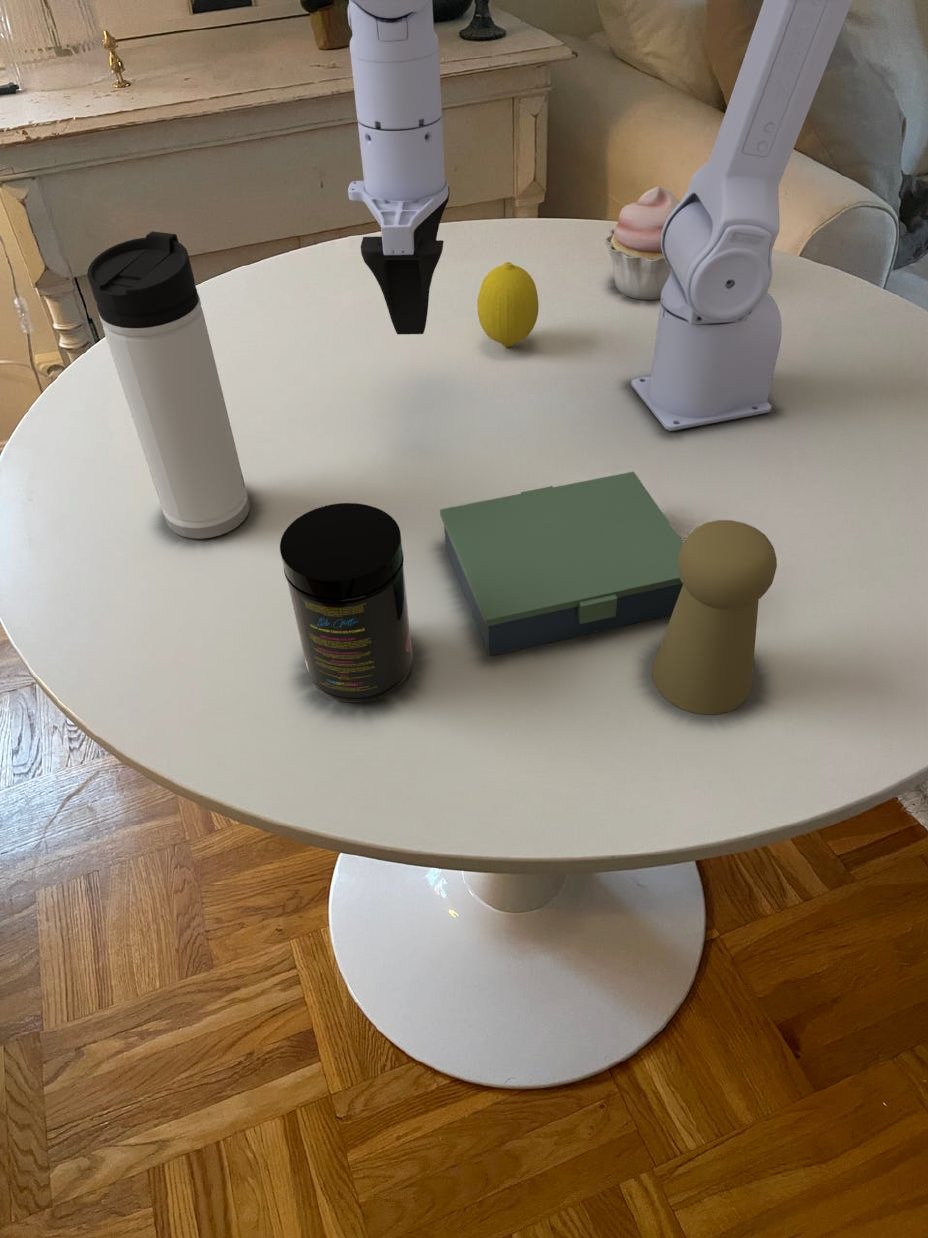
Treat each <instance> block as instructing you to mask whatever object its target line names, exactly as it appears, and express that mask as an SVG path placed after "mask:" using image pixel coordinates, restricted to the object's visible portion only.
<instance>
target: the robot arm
mask: <svg viewBox="0 0 928 1238" xmlns="http://www.w3.org/2000/svg"><path fill="white" fill-rule="evenodd" d="M852 2H853V0H763V2H762V5H761V8H760V10H759V14H758V15H757V16H758V17H757V19H756V22H755V26H754V28H753V31H752V34H751V38H750V39H749V43H748V46H747V49H746V52H745V54H744V57H743V60H742V64H741V66H740V69H739V72H738V75H737V78H736V81H735V83H734V87H733V89H732V93H731V96H730V99H729V101H728V104H727V107H726V110H725V112H724V116H723V118H722V121H721V125H720V127H719V131H718V133H717V137H716V139H715V143H714V145H713V148H712V151H711V154H710V157H709V159H708V160H707V161H706V162H705V163H704V164H703V165H702V166H701V167H699V168H698V169H697V170H696V171H695V172H694V173H693V174H692V176H691V179H690V180H689V181H690V182H689V185H688V187H687V190H686V192H685V193H684V196H683V198H682V199H681V200H680V201H679V202H680V203H679V204H678V205H677V206H676V207H675V208H674V210H673V211H672V212H671V213H670V215H669V216H668V218H667V219H666V221H665V223H664V226H663V229H662V233H661V249H662V252H663V255H664V257H665V259H666V260H667V262H668V263H669V264H670V266H671V272H670V275H669V278H668V280H667V282H666V283H665V285H664V287H663V289H662V292H661V298H660V301H659V310H658V318H657V326H656V327H657V328H656V333H655V334H656V335H655V342H654V350H653V356H652V357H653V359H652V366H651V374H650V375H649V376H648V375H647V376H643V377H635V378H633V379H631V382H630V385H631V387H632V388H633V390H634V391H635V392H636V393H637V394H638V396H639V398H641V400H642V401H643V402H644V404H645V405H646V406H647V408H649V410H650V411H651V412H652V414H653V415H654V416H655V418H656V419H657V420H658V421H659V423H660V424H661V425H662V427H663V428H664V429H665V430H666V431H670V432H672V431H673V432H674V431H678V430H683V429H684V430H685V429H690V428H695V427H699V426H704V425H710V424H715V423H716V424H717V423H720V422H721V423H722V422H727V421H731V420H736V419H742V418H747V417H753V416H757V415H764V414H767V413H770V412H771V411H772V404H770V403H769V401H768V400H769V395H770V392H771V387H772V382H773V378H774V374H775V369H776V365H777V362H778V361H777V360H778V356H779V351H780V347H781V342H782V335H783V329H782V327H783V326H782V325H783V324H782V317H781V312H780V308H779V305H778V304H777V302H776V300H775V299H774V297H773V296H772V295H771V294H770V293H769V292H768V291H769V289H770V287H771V283H772V280H773V263H772V261H773V260H772V255H773V250H774V246H775V243H776V240H777V238H778V235H779V233H780V226H781V225H780V195H779V194H780V193H779V192H780V184H781V181H782V179H783V176H784V174H785V171H786V168H787V166H788V164H789V162H790V161H789V160H790V159H791V156H792V152H793V151H794V149H795V147H796V143H797V141H798V139H799V136H800V133H801V131H802V128H803V126H804V123H805V121H806V118H807V116H808V113H809V111H810V109H811V106H812V104H813V100H814V98H815V96H816V93H817V91H818V88H819V86H820V83H821V82H822V81H821V80H822V78H823V76H824V73H825V70H826V68H827V65H828V63H829V61H830V58H831V56H832V53H833V51H834V48H835V46H836V43H837V40H838V38H839V36H840V33H841V30H842V28H843V26H844V23H845V20H846V18H847V16H848V13H849V10H850V8H851V5H852ZM433 8H434V7H433V0H348V5H347V21H348V26H349V28H350V30H351V32H352V35H351V37H350V40H349V53H350V63H351V73H352V81H353V90H354V101H355V110H356V111H355V112H356V120H357V126H358V138H359V139H358V140H359V147H360V157H361V158H360V159H361V165H362V176H363V180H354V181H351V182H350V183H349V185H348V188H347V195H348V199H349V200H350V201H353V202H363V203H364V204H365V205H366V207H367V208H368V210H369V211H370V213H371V215H372V216H373V218H374V219H375V220H376V221H377V223H378V225H379V226H380V230H381V236H379V235H378V236H363V237H362V240H361V244H360V254H361V258H362V259H363V262H364V264H365V265H366V266H367V268H368V269H369V270H370V271H371V273H372V274H373V276H374V278H375V280H376V282H377V284H378V285H379V288H380V291H381V292H382V295H383V298H384V301H385V304H386V308H387V310H388V314H389V318H390V320H391V322H392V326H393V329H394V331H395V333H396V335H424V334H425V331H426V327H427V326H426V325H427V321H428V320H427V319H428V311H429V302H430V301H429V300H430V288H431V286H432V281H433V275H434V274H435V270H436V268H437V266H438V264H439V261H440V259H441V256H442V253H443V250H444V243H445V241H444V240H439V239H438V240H437V237H438V232H439V228H440V223H441V220H442V217H443V214H444V212H445V209H446V207H447V205H448V202H449V200H450V186H449V182H448V180H447V178H446V169H445V166H446V165H445V147H444V129H443V127H444V126H443V107H442V105H443V104H442V86H441V85H442V84H441V64H440V43H439V36H438V34H437V33H436V31H435V30H434V28H435V27H434V26H435V25H434V9H433Z"/></svg>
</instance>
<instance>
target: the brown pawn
mask: <svg viewBox="0 0 928 1238" xmlns="http://www.w3.org/2000/svg"><path fill="white" fill-rule="evenodd" d="M682 542H683V544H682V547H681V549H680V552H679V556H678V569H679V575H680V580H681V582H682V583H683V586H682V589H681V591H680V594H679V597H678V600H677V602H676V605H675V608H674V610H673V613H672V615H670V618H669V620H668V623H667V627H666V629H665V632H664V634H663V637H662V640H661V643H660V645H659V648H658V651H657V654H656V656H655V660H654V663H653V665H652V668H651V673H652V676H651V677H652V682H653V684H654V686H655V687H656V690H657V692H658V693H659V694H661V696H662V697H664V699H665V700H666V701H667V702H669V704H672V705H674V706H676V707H678V708H680V709H681V710H684V711H687V712H691V713H695V714H698V715H719V714H724V713H727V712H728V713H729V712H732V711H733V710H734V709H736V708H738V707H740V706H741V705H743V703H745V701H746V700H747V698H748V697H749V696H750V693H751V690H752V685H753V676H754V665H755V664H754V662H755V650H756V638H757V627H758V626H757V625H758V624H757V623H758V615H759V613H758V612H759V601H760V599H761V598H763V596H764V595H765V594H766V593H767V592H768V591H769V589H770V588H771V586H772V585H773V582H774V579H775V575H776V572H777V568H778V562H777V561H778V560H777V556H776V550H775V548H774V546H773V543H772V542H771V540H770V539H769V538H768V537H767V535H766V534H765V533H763V532H762V531H761V530H760V529H758V528H757V527H755V526H752V525H750V524H748V523H745V522H741V521H738V520H737V521H736V520H731V519H718V520H713V521H707V522H705V523H703V524H701V525H699V526H697V527H696V528H694V530H692V531H691V532H690V533H689V534H688V535H687V536H686V537H685V539H684V540H683V541H682Z"/></svg>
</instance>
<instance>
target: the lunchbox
mask: <svg viewBox="0 0 928 1238" xmlns="http://www.w3.org/2000/svg"><path fill="white" fill-rule="evenodd" d="M439 517H440V519H441V521H442V524H443V529H444V545H445V547H444V548H445V551H446V554H447V556H448V559H449V561H450V563H451V565H452V569H453V570H454V574H455V576H456V578H457V581H458V583H459V586H460V588H461V590H462V592H463V595H464V597H465V598H464V599H465V600H466V603H467V605H468V607H469V610H470V612H471V615H472V617H473V620H474V622H475V624H476V627H477V629H478V632H479V635H480V636H481V639H482V641H483V644H484V646H485V647H484V648H485V649H486V651H487V654H488V656H495V655H499V654H504V653H508V652H513V651H517V650H521V649H526V648H529V647H535V646H540V645H544V644H548V643H553V642H557V641H561V640H566V639H570V638H575V637H580V636H585V635H588V634H592V633H597V632H602V631H606V630H610V629H611V630H612V629H614V628H615V629H616V628H620V627H623V626H627V625H632V624H637V623H641V622H646V621H650V620H654V619H659V618H663V617H668V616H672V613H673V610H674V608H675V605H676V602H677V600H678V597H679V594H680V591H681V589H682V586H683V583H682V582H681V580H680V575H679V569H678V556H679V552H680V549H681V547H682V544H683V542H684V541H683V540H682V539H681V537H680V536H679V534H678V533H677V532H676V530H675V529H674V527H673V526H672V524H671V523H670V522H669V520H668V519H667V517H666V516H665V514H664V513H663V511H662V510H661V508H660V507H659V506H658V504H657V503H656V501H655V500H654V498H652V496H651V495H650V493H649V491H648V490H647V489H646V487H645V486H644V485H643V483H642V481H641V480H640V479H639V477H638V476H637V474H636V473H635V472H634V471H629V472H625V473H619V474H614V475H608V476H604V477H598V478H593V479H588V480H583V481H578V482H573V483H569V484H563V485H558V486H553V485H551V486H546V487H540V488H536V489H530V490H526V491H521V492H520V493H517V494H512V495H511V494H510V495H507V496H501V497H497V498H492V499H487V500H481V501H477V502H472V503H465V504H461V505H456V506H451V507H446V508H441V509H439Z"/></svg>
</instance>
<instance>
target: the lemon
mask: <svg viewBox="0 0 928 1238" xmlns="http://www.w3.org/2000/svg"><path fill="white" fill-rule="evenodd" d="M539 306H540V305H539V295H538V290H537V286H536V284H535V281H534V279H533V278H532V276H531V275H530V273H528V271H527V270H525V269H524V268H522V267H520V266H518V265H516V264H513V263H512V262H510V261H505V262H504V263H503V264H502V265H499V266H496V267H494V268H493V269H492V270H490V271H489V272H488V273H487V274H486V275H485V277H484V278H483V279H482V282H481V284H480V289H479V292H478V296H477V306H476V307H477V317H478V320H479V324H480V326H481V329H482V330H483V332H484V333H485V334H486V336H487V337H488V338H490V339H491V341H494V342H496V343H499V344H501V345H502V346H503V347H505V348H511V347H513V345H514V344H517V343H519V342H521V341H523V340H525V339H526V338H527V337H528V336H529V335H530V334H531V333H532V332H533V330H534V328H535V325H536V323H537V320H538V317H539V316H538V315H539Z"/></svg>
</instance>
